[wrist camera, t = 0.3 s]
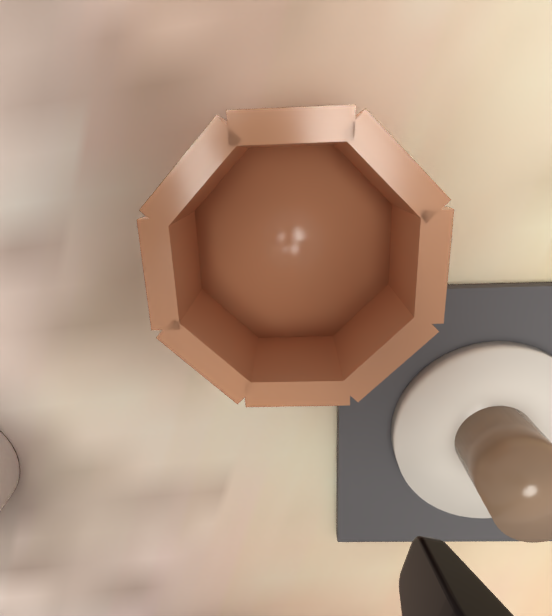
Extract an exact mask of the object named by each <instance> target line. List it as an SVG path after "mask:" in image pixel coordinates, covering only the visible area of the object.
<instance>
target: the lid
mask: <svg viewBox="0 0 552 616" xmlns="http://www.w3.org/2000/svg"><path fill="white" fill-rule="evenodd" d="M391 442H392V447H393V451H394V454H395V457H396V460H397V463H398V465H399V468H400V471H401V473H402V475H403V477H404V479H405V481H406V482H407V484H408V485H409V486H410V487H411V489H412V490H413V491H414V492H415V493H416V494H417V495H418V496H419V497H420V498H422V499H423V500H424V501H426V502H427V503H429V504H430V505H432V506H434V507H436V508H438V509H440V510H442V511H445V512H447V513H451V514H454V515H458V516H463V517H469V518H492V519H493V521H494V523H495V524H496V526H497V527H498V528H499V529H500V530H501V531H502V532H503V533H504V534H505V535H507V536H509V537H511V538H513V539H516V540H519V541H524V542H544V541H549V540H552V356H551V355H550V354H548V353H547V352H544V351H542V350H540V349H538V348H536V347H533V346H529V345H526V344H522V343H516V342H508V341H492V342H482V343H477V344H472V345H468V346H465V347H462V348H459V349H456V350H454V351H451V352H449V353H447V354H445V355H443V356H441V357H440V358H438V359H436V360H435V361H433V362H432V363H430V364H429V365H428V366H426V367H425V368H424V369H423V370H422V371H420V372H419V373H418V374H417V375H416V376H415V377H414V378H413V380H412V381H411V382H410V383H409V384H408V386H407V387H406V388H405V390H404V392H403V393H402V395H401V396H400V398H399V401H398V403H397V405H396V407H395V410H394V414H393V417H392V424H391Z"/></svg>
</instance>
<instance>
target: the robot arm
mask: <svg viewBox="0 0 552 616" xmlns="http://www.w3.org/2000/svg"><path fill="white" fill-rule="evenodd" d="M399 592H400V601H401V610H402V616H513V614H512V613H511V612H510V611H509V610H508V609H507V608H506V607H505V606H504V605H503V604H502V603H501V602H500V601H499V600H498V599H497V597H496V596H495V595H494V594H493V593H492V592H491V591H490V590H489V589H488V588H487V587H486V586H485V585H484V584H483V583H482V581H481V580H480V579H479V578H478V577H477V576H476V575H475V574H474V573H473V572H472V571H471V570H470V569H469V568H468V567H467V566H466V564H465V563H464V562H463V561H462V560H461V559H460V558H459V557H458V556H457V555H456V554H455V553H454V552H453V551H452V550H451V548H450V547H449V546H448V545H447V544H446V543H445V542H443V541H442V540H439V539H435V538H430V537H425V536H417V537H416V538H415V539H414V540H413V542H412V544H411V547H410V549H409V552H408V555H407V557H406V560H405V562H404V565H403V568H402V570H401V573H400V579H399Z"/></svg>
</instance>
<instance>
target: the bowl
mask: <svg viewBox="0 0 552 616" xmlns="http://www.w3.org/2000/svg"><path fill="white" fill-rule="evenodd" d="M226 116H227V121H226V120H225V119H223V118H221V117H220V116H218V115H216V116H215V117H214V119H213V120H212V121H211V122H210V123H209V125H208V126H207V127H206V128H205V130H204V131H203V132H202V133H201V135H200V136H199V137H198V138H197V139H196V141H195V142H194V143H193V144H192V146H191V147H190V148H189V149H188V151H187V152H186V153H185V154H184V155H183V157H182V158H181V159H180V160H179V162H178V163H177V164H176V165H175V167H174V168H173V169H172V170H171V171H170V173H169V174H168V175H167V176H166V178H165V179H164V180H163V181H162V183H161V184H160V185H159V186H158V188H157V189H156V190H155V191H154V192H153V194H152V195H151V196H150V197H149V199H148V200H147V201H146V202H145V204H144V205H143V206H142V207H141V208H140V210H139V211H141V212H142V213H143V214H144V215H145V216H144V217H142V218H139V219H137V226H138V234H139V241H140V249H141V256H142V263H143V271H144V278H145V286H146V293H147V300H148V308H149V315H150V323H151V330H162V331H161V332H160V333H159V335H158V336H157V337H156V338H157V339H158V340H159V341H160V342H162V343H163V344H164V345H165V346H166V347H168V348H169V349H170V350H171V351H173V352H174V353H175V354H176V355H178V356H179V357H180V358H181V359H182V360H184V361H185V362H186V363H187V364H189V365H190V366H191V367H192V368H194V369H195V370H196V371H197V372H198V373H200V374H201V375H202V376H203V377H205V378H206V379H207V380H208V381H210V382H211V383H212V384H213V385H214V386H216V387H217V388H218V389H219V390H221V391H222V392H223V393H224V394H225V395H227V396H228V397H229V398H230V399H232V400H233V401H234V402H235V403H237V404H238V403H239V402H240V401H241V400H242V399H244V398H245V405H246V407H280V406H344V405H350V396H351V397H353V398H354V399H355V400H356V401H357V402H359V401H360V400H361V399H362V398H364V397H365V396H366V395H367V394H368V393H369V392H371V391H372V390H373V389H374V388H375V387H376V386H377V385H379V384H380V383H381V382H382V381H383V380H384V379H385V378H387V377H388V376H389V375H390V374H391V373H392V372H394V371H395V370H396V369H397V368H398V367H399V366H400V365H402V364H403V363H404V362H405V361H406V360H407V359H408V358H410V357H411V356H412V355H413V354H414V353H415V352H417V351H418V350H419V349H420V348H421V347H422V346H423V345H425V344H426V343H427V342H428V341H429V340H430V339H431V338H433V337H434V336H435V335H436V334H437V333H438V332H439V331H438V330H437V328H436V327H435V326H434V325H433V324H444V314H445V303H446V292H447V281H448V270H449V259H450V248H451V237H452V226H453V215H454V209H452V208H449V207H445V205H446V204H447V203H448V202H449V201H450V200H451V199H450V198H449V197H448V196H447V195H446V194H445V193H444V192H443V191H442V190H441V189H440V187H439V186H438V185H437V184H436V183H435V182H434V181H433V180H432V179H431V178H430V177H429V176H428V175H427V174H426V172H425V171H424V170H423V169H422V168H421V167H420V166H419V165H418V164H417V163H416V162H415V161H414V160H413V159H412V157H411V156H410V155H409V154H408V153H407V152H406V151H405V150H404V149H403V148H402V147H401V146H400V145H399V144H398V142H397V141H396V140H395V139H394V138H393V137H392V136H391V135H390V134H389V133H388V132H387V131H386V130H385V129H384V127H383V126H382V125H381V124H380V123H379V122H378V121H377V120H376V119H375V118H374V117H373V116H372V115H371V114H370V112H369V111H368V110H367V109H364V110H363V111H361V112H360V113H358V114H357V115H356V104H353V105H330V106H306V107H282V108H259V109H235V110H226Z"/></svg>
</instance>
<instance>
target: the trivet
mask: <svg viewBox="0 0 552 616" xmlns="http://www.w3.org/2000/svg"><path fill="white" fill-rule="evenodd" d="M433 325H434V326H435V327H436V328H437V330H438V331H439V332H438V333H437V334H436V335H435V336H434V337H433V338H431V339H430V340H429V341H428V342H427V343H426V344H425V345H423V346H422V347H421V348H420V349H419V350H418V351H417V352H415V353H414V354H413V355H412V356H411V357H410V358H408V359H407V360H406V361H405V362H404V363H403V364H402V365H400V366H399V367H398V368H397V369H396V370H395V371H394V372H392V373H391V374H390V375H389V376H388V377H387V378H385V379H384V380H383V381H382V382H381V383H380V384H379V385H377V386H376V387H375V388H374V389H373V390H372V391H371V392H369V393H368V394H367V395H366V396H365V397H364V398H362V399H361V400H360V401H359V402H357V401H356V400H355V399H354V398H353V397H351V396H350V405H344V406H338V438H337V540H338V542H413V540H414V539H415V538H416V537H417V536H425V537H430V538H435V539H439V540H442V541H519V540H516V539H513V538H511V537H509V536H507V535H505V534H504V533H503V532H502V531H501V530H500V529H499V528H498V527H497V526H496V524H495V523H494V521H493V519H492V518H469V517H463V516H458V515H454V514H451V513H447V512H445V511H442V510H440V509H438V508H436V507H434V506H432V505H430V504H429V503H427V502H426V501H424V500H423V499H422V498H420V497H419V496H418V495H417V494H416V493H415V492H414V491H413V490H412V489H411V487H410V486H409V485H408V484H407V482H406V481H405V479H404V477H403V475H402V473H401V471H400V468H399V465H398V463H397V460H396V457H395V454H394V451H393V447H392V442H391V424H392V417H393V414H394V410H395V407H396V405H397V403H398V401H399V398H400V396H401V395H402V393H403V392H404V390H405V388H406V387H407V386H408V384H409V383H410V382H411V381H412V380H413V378H414V377H415V376H416V375H417V374H418V373H419V372H420V371H422V370H423V369H424V368H425V367H426V366H428V365H429V364H430V363H432V362H433V361H435V360H436V359H438V358H440V357H441V356H443V355H445V354H447V353H449V352H451V351H454V350H456V349H459V348H462V347H465V346H468V345H472V344H477V343H482V342H492V341H508V342H516V343H522V344H526V345H529V346H533V347H536V348H538V349H540V350H542V351H544V352H547V353H548V354H550V355H551V356H552V282H538V283H500V284H462V285H447V292H446V303H445V314H444V324H433ZM549 541H552V540H549Z"/></svg>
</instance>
